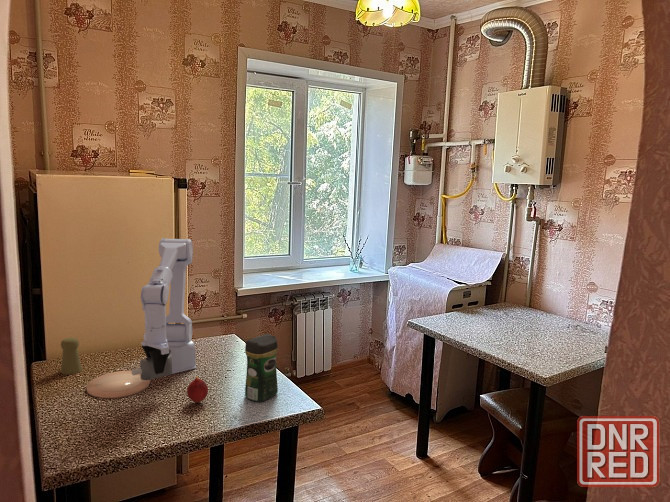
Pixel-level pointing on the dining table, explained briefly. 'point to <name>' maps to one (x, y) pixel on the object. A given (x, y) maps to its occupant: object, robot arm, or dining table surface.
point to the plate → (117, 385)
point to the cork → (70, 356)
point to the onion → (197, 390)
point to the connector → (152, 369)
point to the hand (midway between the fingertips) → (156, 370)
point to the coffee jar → (261, 368)
